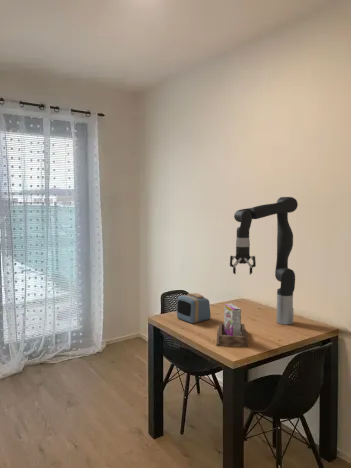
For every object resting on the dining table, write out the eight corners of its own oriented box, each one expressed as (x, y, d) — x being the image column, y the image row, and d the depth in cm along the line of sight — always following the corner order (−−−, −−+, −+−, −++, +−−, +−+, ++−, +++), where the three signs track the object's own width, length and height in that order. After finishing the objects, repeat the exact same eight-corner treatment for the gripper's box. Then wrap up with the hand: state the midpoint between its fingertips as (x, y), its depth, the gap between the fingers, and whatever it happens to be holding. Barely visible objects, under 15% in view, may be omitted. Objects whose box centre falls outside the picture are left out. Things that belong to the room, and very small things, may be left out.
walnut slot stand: (245, 331, 221) (245, 323, 220) (248, 346, 197) (248, 338, 197) (217, 330, 223) (217, 322, 222) (216, 345, 199) (216, 337, 198)
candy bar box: (223, 333, 214) (223, 303, 213) (231, 332, 216) (232, 303, 214) (232, 340, 204) (232, 309, 202) (241, 339, 205) (241, 308, 204)
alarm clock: (175, 318, 246) (175, 293, 244) (195, 313, 256) (195, 289, 254) (191, 324, 233) (191, 298, 231) (212, 319, 243) (212, 294, 241)
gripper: (255, 244, 222) (254, 273, 223) (229, 244, 223) (229, 272, 225) (256, 246, 214) (255, 275, 216) (230, 246, 216) (229, 275, 217)
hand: (242, 274), depth 220 cm, fingers open, 8 cm apart
